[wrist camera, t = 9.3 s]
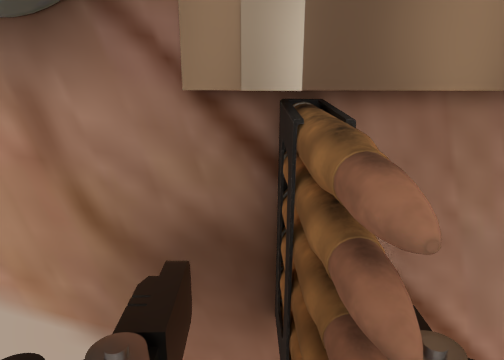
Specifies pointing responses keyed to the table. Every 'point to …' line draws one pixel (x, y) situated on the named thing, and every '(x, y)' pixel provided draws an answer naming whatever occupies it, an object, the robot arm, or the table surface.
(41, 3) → the grey-green cup
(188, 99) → the table surface
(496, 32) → the plank
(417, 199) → the ammunition clip
